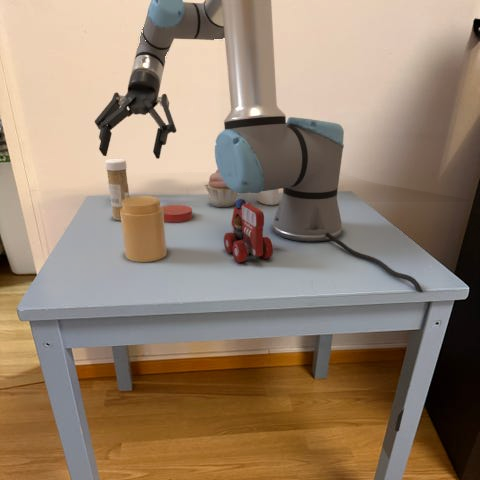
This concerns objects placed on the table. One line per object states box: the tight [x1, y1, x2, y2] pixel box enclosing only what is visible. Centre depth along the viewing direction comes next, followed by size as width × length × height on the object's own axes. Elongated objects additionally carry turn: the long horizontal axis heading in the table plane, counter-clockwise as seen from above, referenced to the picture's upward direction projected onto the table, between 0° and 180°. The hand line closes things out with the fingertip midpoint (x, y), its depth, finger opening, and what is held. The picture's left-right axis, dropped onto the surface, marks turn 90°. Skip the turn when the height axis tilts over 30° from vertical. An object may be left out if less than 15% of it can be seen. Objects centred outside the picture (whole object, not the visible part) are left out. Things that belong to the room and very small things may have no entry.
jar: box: [120, 195, 168, 263], centre depth 86 cm, size 8×8×11 cm
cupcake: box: [204, 168, 239, 208], centre depth 117 cm, size 9×9×10 cm
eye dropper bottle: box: [257, 189, 279, 206], centre depth 118 cm, size 4×6×12 cm
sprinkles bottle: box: [104, 158, 130, 222], centre depth 105 cm, size 5×4×14 cm
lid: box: [162, 204, 193, 224], centre depth 109 cm, size 8×8×2 cm
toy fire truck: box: [223, 198, 274, 263], centre depth 87 cm, size 7×12×10 cm, turn 22°
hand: (129, 154), depth 109 cm, fingers open, 13 cm apart
